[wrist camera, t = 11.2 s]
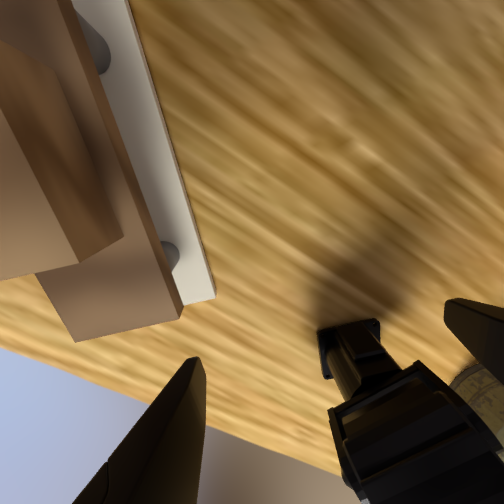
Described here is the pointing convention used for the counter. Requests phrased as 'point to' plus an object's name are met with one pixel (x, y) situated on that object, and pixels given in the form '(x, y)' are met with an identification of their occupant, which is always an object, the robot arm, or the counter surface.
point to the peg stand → (146, 140)
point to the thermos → (483, 398)
